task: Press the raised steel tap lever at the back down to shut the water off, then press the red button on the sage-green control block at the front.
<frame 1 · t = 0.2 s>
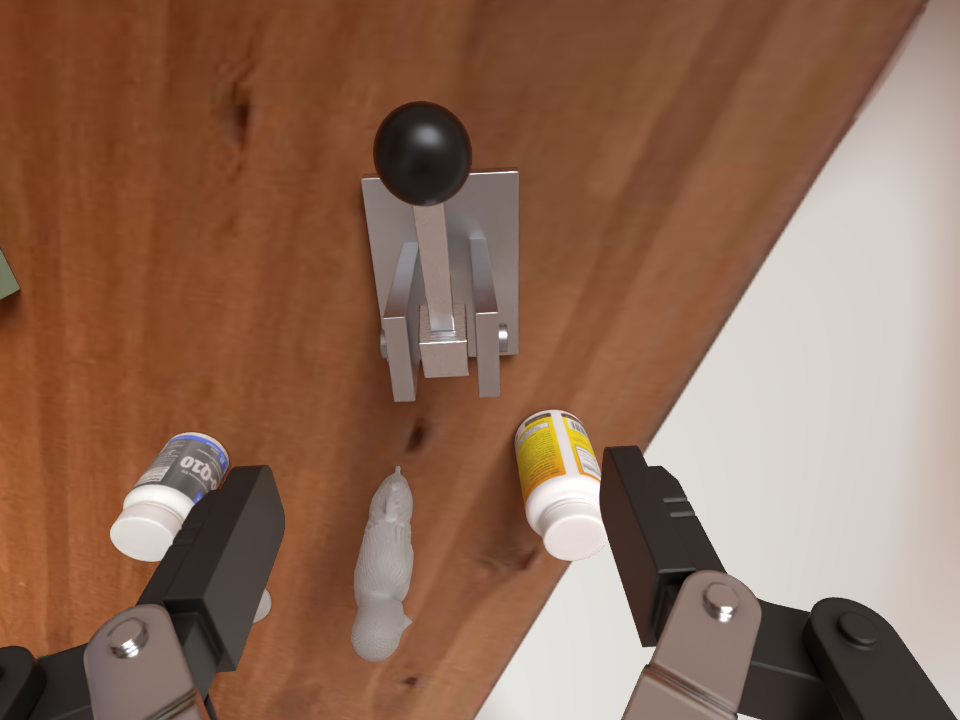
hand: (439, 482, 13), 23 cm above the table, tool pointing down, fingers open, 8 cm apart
wineglass: (232, 596, 49), on the table
tap lever: (435, 264, 21), point 12 cm above the table, hinge at 25.0°
supplement bottle: (549, 433, 42), on the table
pill bottle: (199, 453, 41), on the table
tap bracket: (447, 268, 34), on the table
figurine: (399, 471, 43), on the table
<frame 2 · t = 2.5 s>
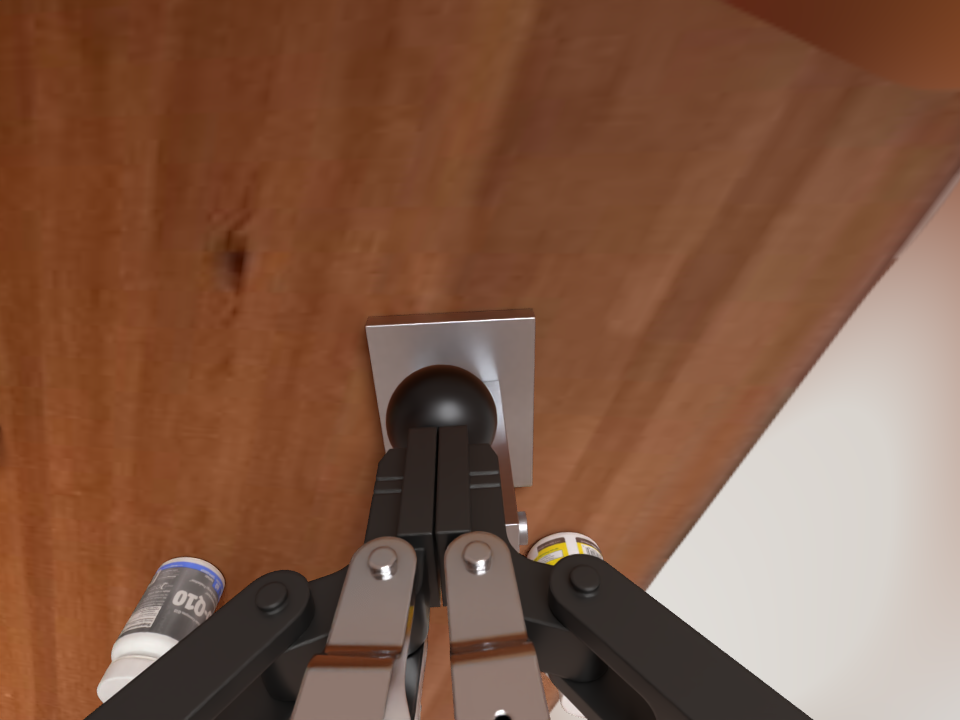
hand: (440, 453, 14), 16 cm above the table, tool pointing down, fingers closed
tap lever: (451, 486, 19), point 12 cm above the table, hinge at 24.2°, touching gripper
supplement bottle: (562, 552, 39), on the table
pill bottle: (193, 574, 39), on the table
tap bracket: (456, 402, 32), on the table
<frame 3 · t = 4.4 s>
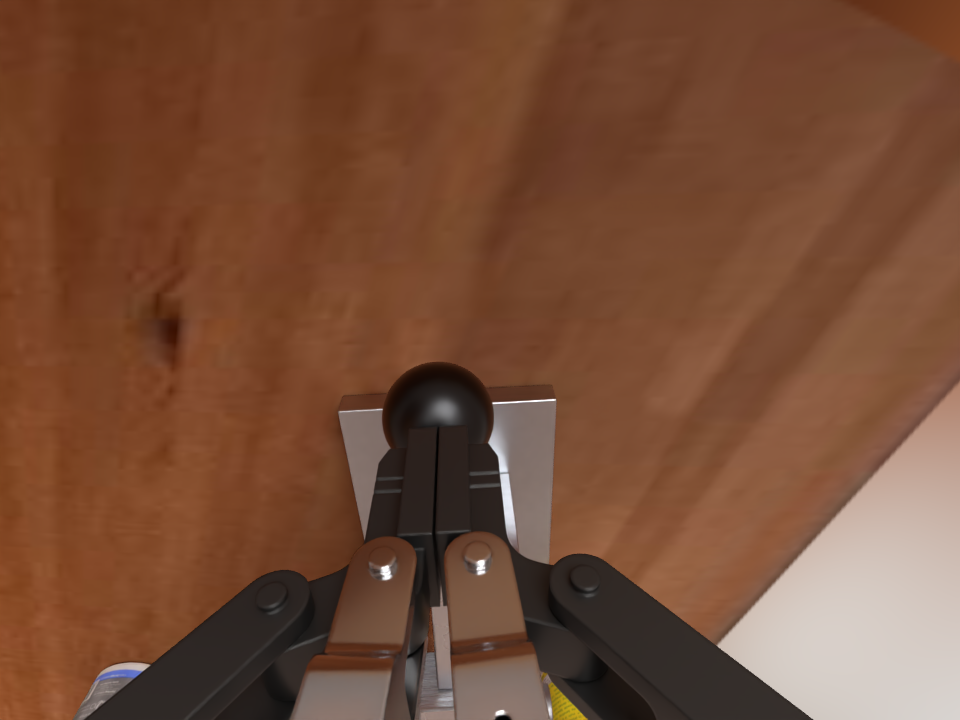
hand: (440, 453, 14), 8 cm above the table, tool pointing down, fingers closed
tap lever: (448, 571, 16), point 8 cm above the table, hinge at -19.1°, touching gripper
supplement bottle: (580, 650, 33), on the table
pill bottle: (141, 678, 33), on the table
tap bracket: (455, 492, 26), on the table
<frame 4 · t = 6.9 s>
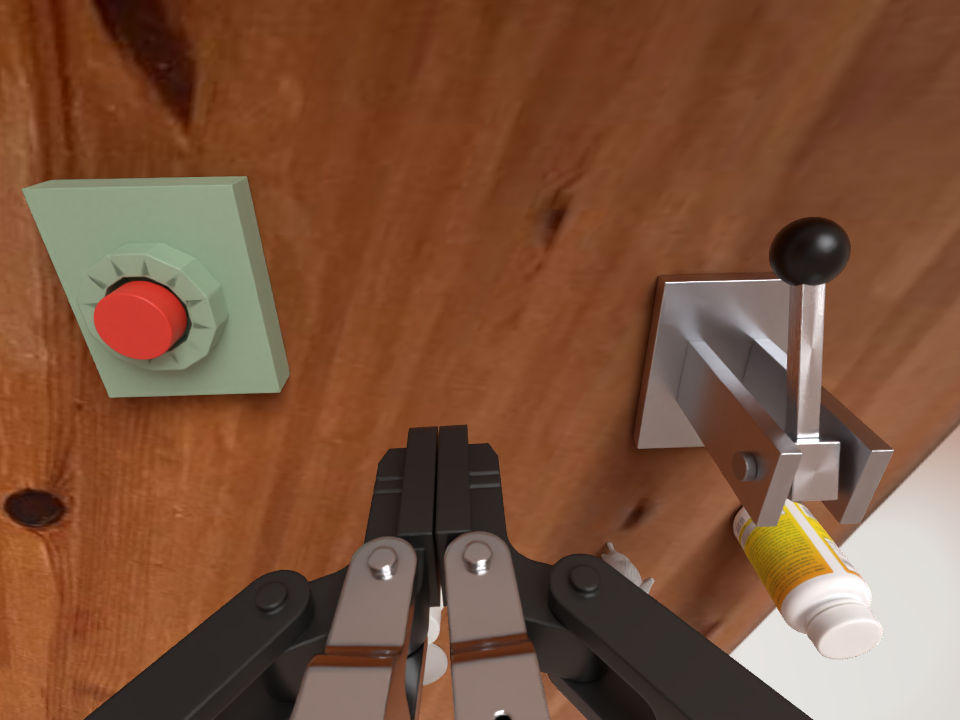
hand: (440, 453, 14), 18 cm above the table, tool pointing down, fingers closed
button block: (182, 286, 31), on the table
wineglass: (408, 660, 49), on the table
tap lever: (804, 358, 25), point 8 cm above the table, hinge at -23.4°
supplement bottle: (764, 514, 42), on the table
pill bottle: (417, 526, 41), on the table
red button: (142, 320, 27), point 5 cm above the table, slide at 0.2 cm
tap bracket: (713, 361, 34), on the table
figurine: (607, 546, 43), on the table
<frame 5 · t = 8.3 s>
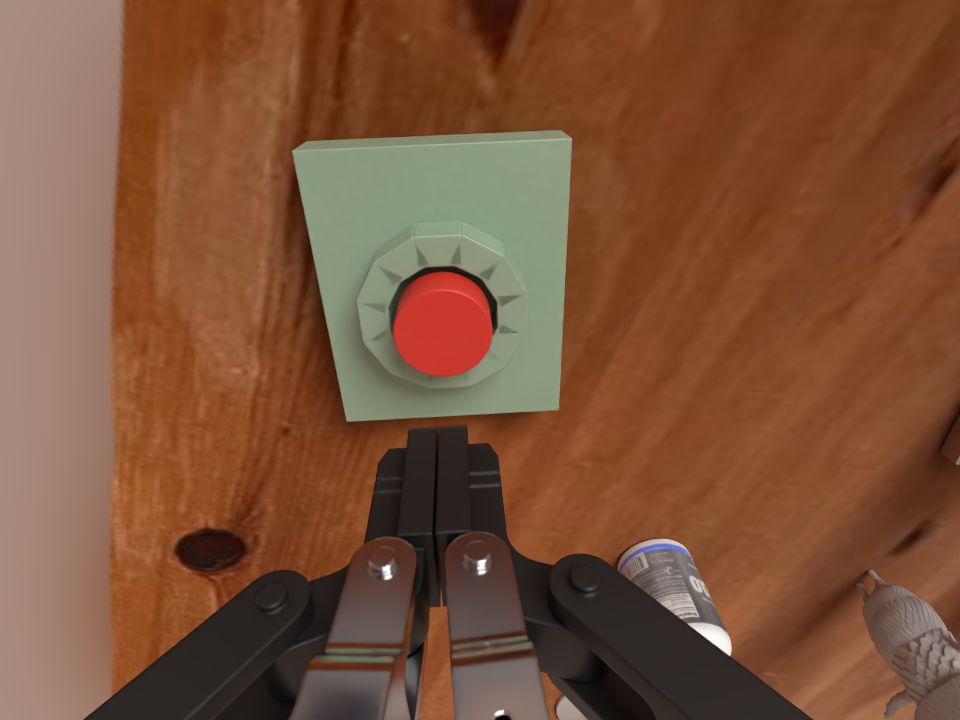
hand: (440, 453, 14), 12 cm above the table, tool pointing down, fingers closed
button block: (444, 279, 24), on the table
wineglass: (599, 701, 43), on the table
pill bottle: (651, 558, 34), on the table
red button: (443, 324, 20), point 5 cm above the table, slide at 0.2 cm
figurine: (864, 574, 36), on the table
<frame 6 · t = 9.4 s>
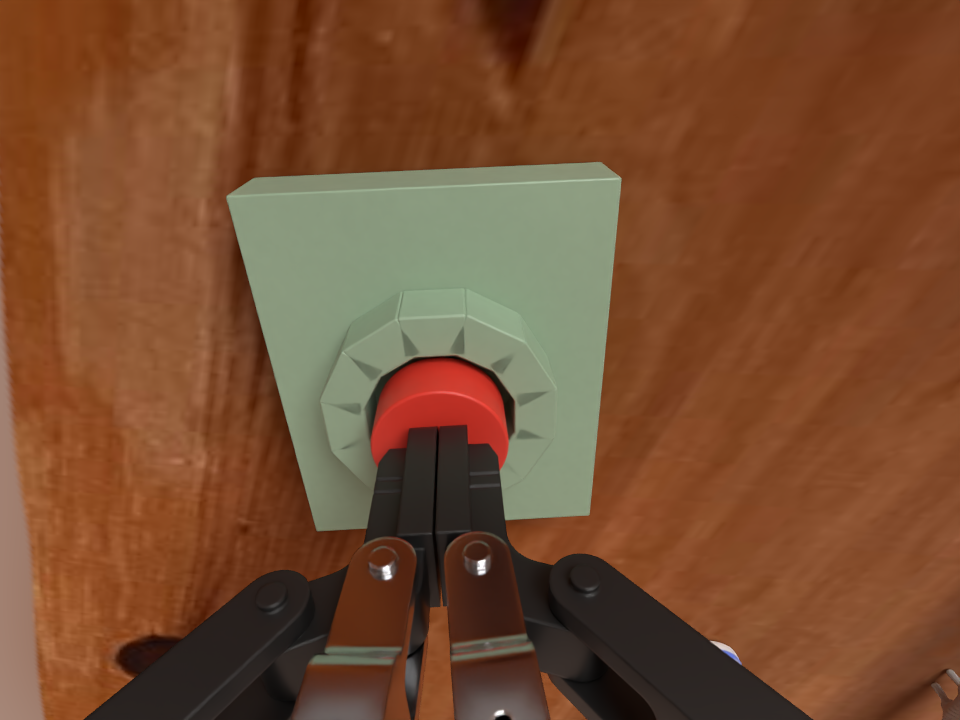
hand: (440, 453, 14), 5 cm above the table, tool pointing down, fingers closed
button block: (443, 351, 18), on the table
red button: (440, 428, 15), point 4 cm above the table, slide at -0.1 cm, touching gripper
figurine: (940, 673, 31), on the table
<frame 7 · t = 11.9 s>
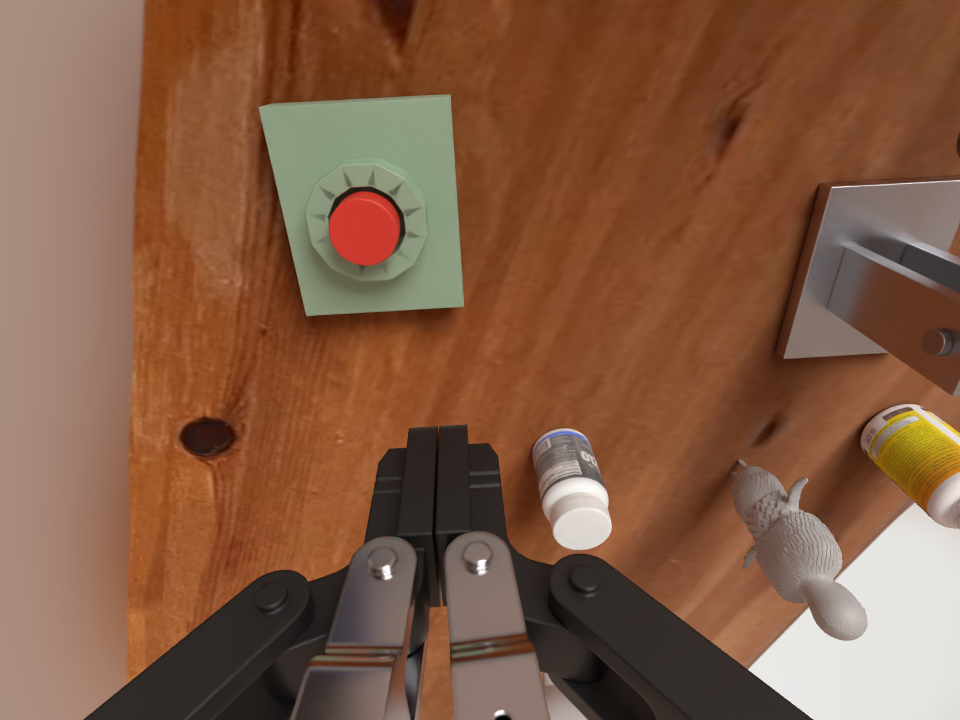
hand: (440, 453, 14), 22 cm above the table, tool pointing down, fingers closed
button block: (376, 207, 33), on the table
wineglass: (534, 586, 52), on the table
supplement bottle: (890, 427, 43), on the table
pill bottle: (560, 448, 43), on the table
red button: (365, 228, 29), point 5 cm above the table, slide at 0.2 cm
tap bracket: (860, 270, 36), on the table
figurine: (737, 464, 45), on the table
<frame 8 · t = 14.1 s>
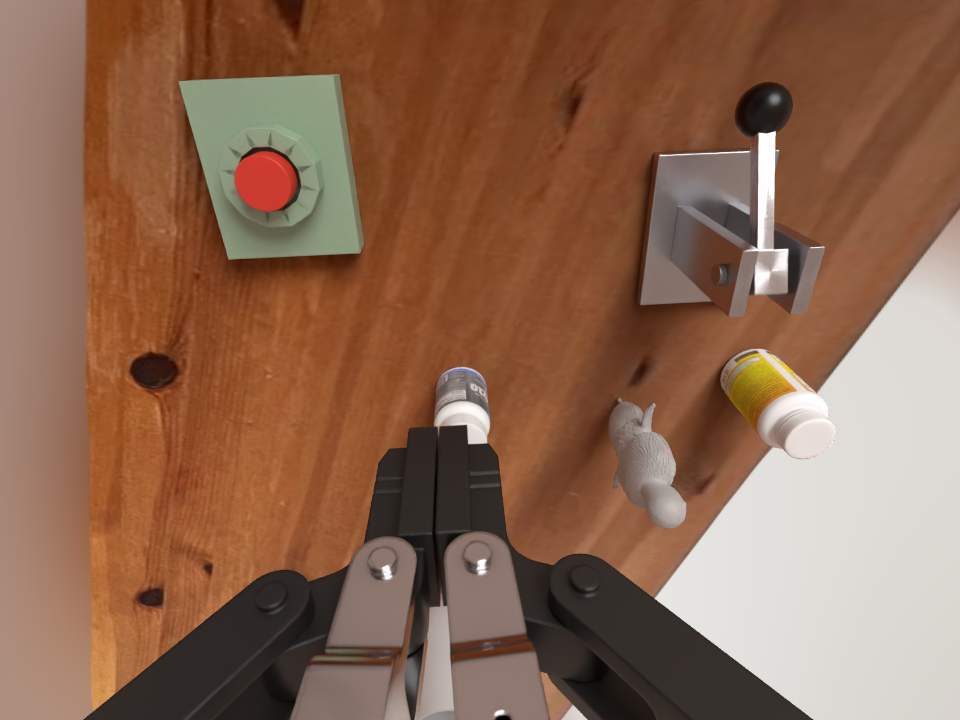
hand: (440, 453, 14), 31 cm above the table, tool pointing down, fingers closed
button block: (285, 168, 39), on the table
wineglass: (451, 517, 58), on the table
tap lever: (762, 191, 34), point 8 cm above the table, hinge at -23.4°
supplement bottle: (746, 370, 50), on the table
pill bottle: (461, 385, 50), on the table
red button: (266, 181, 36), point 5 cm above the table, slide at 0.2 cm
tap bracket: (699, 228, 43), on the table
figurine: (617, 403, 52), on the table
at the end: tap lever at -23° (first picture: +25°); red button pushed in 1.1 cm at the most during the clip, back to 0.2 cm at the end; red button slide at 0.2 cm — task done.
